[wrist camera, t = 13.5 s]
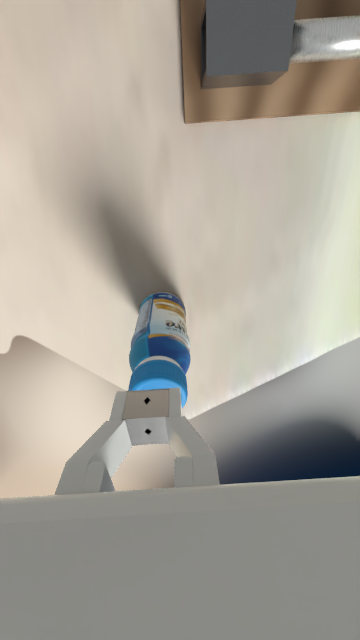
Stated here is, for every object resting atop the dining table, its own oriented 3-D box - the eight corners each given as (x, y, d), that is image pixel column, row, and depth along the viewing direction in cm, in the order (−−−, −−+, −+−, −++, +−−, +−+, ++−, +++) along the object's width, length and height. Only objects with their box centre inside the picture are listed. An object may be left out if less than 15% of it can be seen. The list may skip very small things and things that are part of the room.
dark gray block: (201, 89, 29) (206, 76, 25) (200, 23, 26) (206, -5, 22) (270, 84, 29) (288, 70, 25) (277, 17, 26) (297, -11, 22)
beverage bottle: (131, 298, 44) (105, 383, 27) (177, 283, 43) (182, 362, 25) (149, 336, 48) (137, 430, 31) (191, 323, 47) (204, 414, 30)
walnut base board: (184, 123, 31) (185, 122, 31) (179, -13, 26) (179, -19, 25) (418, 107, 31) (425, 105, 30) (465, -34, 26) (475, -41, 25)
